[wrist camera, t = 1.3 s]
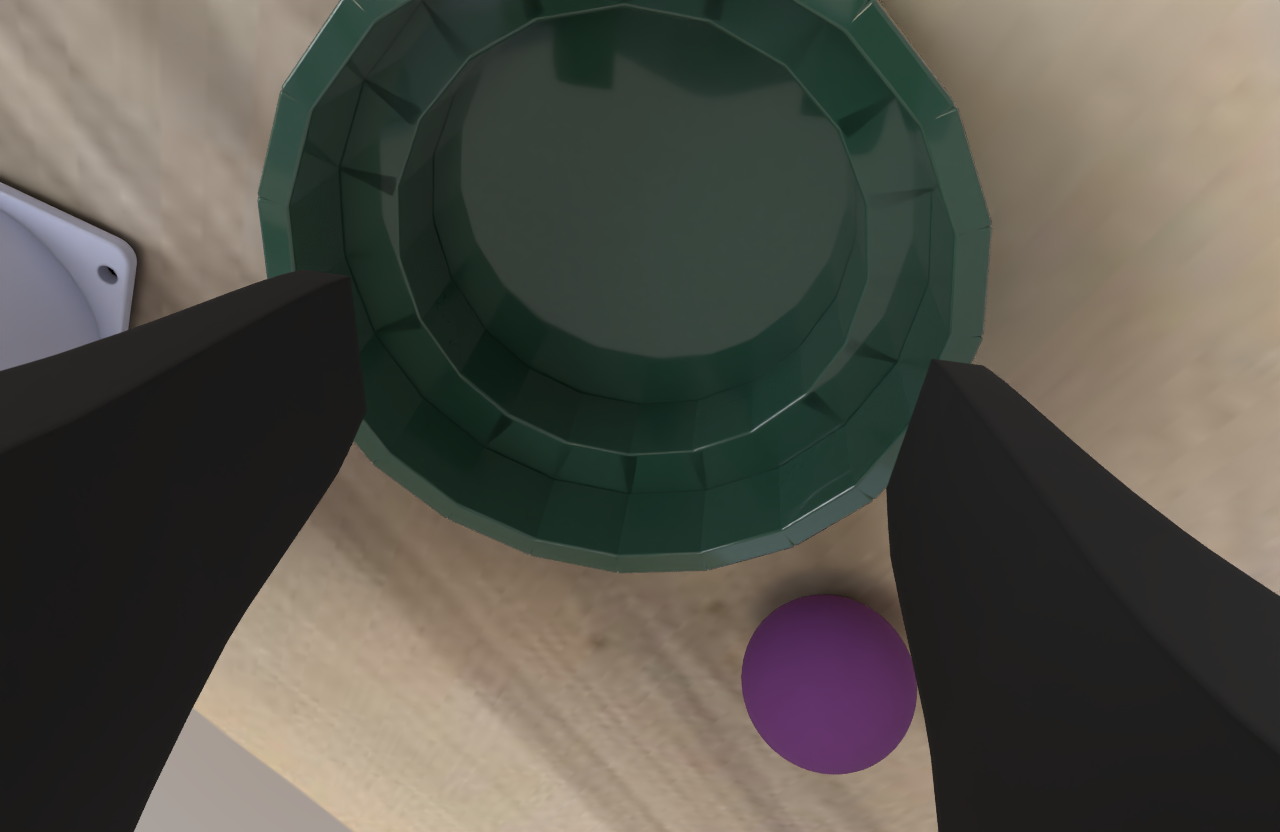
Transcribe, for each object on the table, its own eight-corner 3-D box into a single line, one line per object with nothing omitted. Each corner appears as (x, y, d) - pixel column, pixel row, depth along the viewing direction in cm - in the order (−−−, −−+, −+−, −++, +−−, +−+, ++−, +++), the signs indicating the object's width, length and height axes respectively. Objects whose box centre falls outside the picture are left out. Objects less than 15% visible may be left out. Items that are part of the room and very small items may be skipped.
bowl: (741, 511, 24) (737, 648, 20) (310, 308, 22) (207, 415, 18) (1074, 99, 17) (1175, 182, 13) (477, -273, 14) (367, -316, 10)
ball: (842, 686, 28) (856, 830, 24) (714, 629, 27) (706, 768, 23) (937, 601, 25) (971, 748, 21) (798, 535, 24) (805, 674, 20)
